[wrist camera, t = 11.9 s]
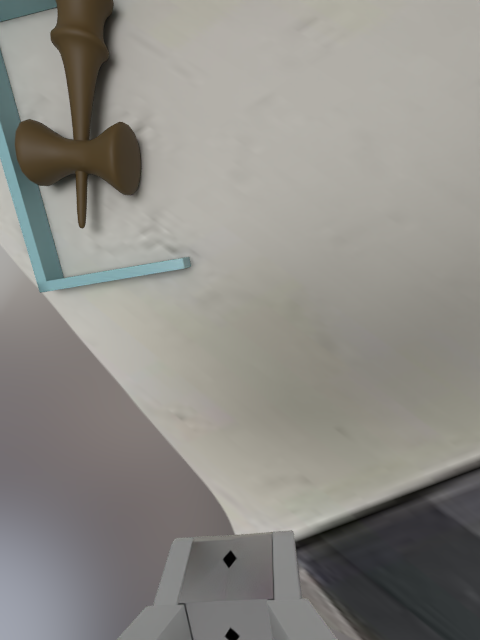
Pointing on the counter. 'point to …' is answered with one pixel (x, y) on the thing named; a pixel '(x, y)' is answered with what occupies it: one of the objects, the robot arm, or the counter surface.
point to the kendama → (80, 114)
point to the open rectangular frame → (3, 121)
